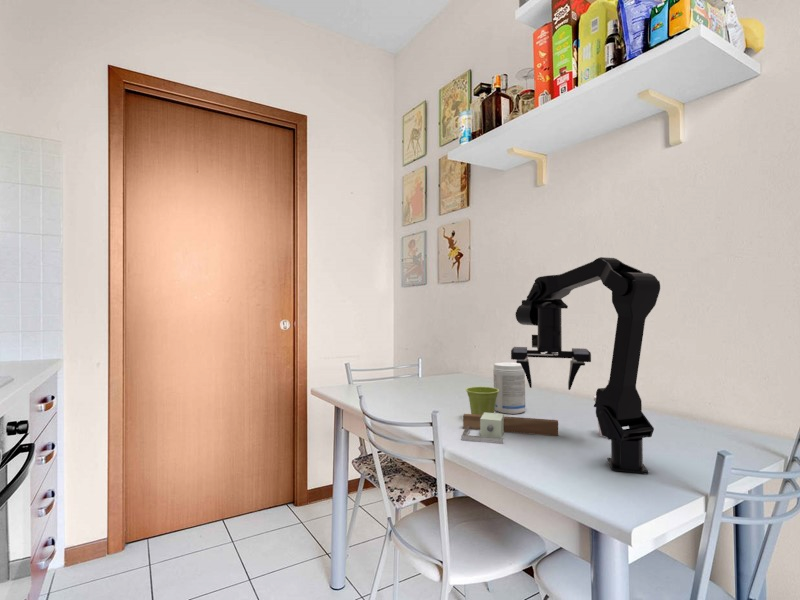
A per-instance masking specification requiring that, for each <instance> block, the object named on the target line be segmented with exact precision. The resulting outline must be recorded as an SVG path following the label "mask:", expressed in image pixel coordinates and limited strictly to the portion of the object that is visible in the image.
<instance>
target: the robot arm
mask: <svg viewBox="0 0 800 600" xmlns="http://www.w3.org/2000/svg"><path fill="white" fill-rule="evenodd" d="M598 281H601V283H602V285H603V286H605V287H606V288H607V289H609V290H610V291H611V303H612V304H613V307H614V309H615V312H616V314H617V321H616V328H615V335H614V336H615V337H614V342H613V349H612V358H611V365H610V372H609V379H608V380H609V383H607V385H606V386H605V387H600V388H599V387H598V388H597V390H596V391H595V395H596V402H595V401H594V405H593V408H595V415H596V416H595V417H596V419H597V418H598V419H597V423H598V422H599V425H600V429H601V433H602V436H601V437H603V436H605V437H604V438H607V439H608V440H610V449H611V450H610V452H611V454H610V457H606V460H607V463H608V465H609V466H610V469H611V471H615V472H616V471H617V472H625V473H636V474H646V475H647V474H649V469H647V467H646V465H644V463H643V462H644V461H643V460H644V459H643V458H644V453H643V451H644V450H643V449H644V448H643V446H644V445H643V443H644V441H643V439H644V438H645V439H646V438H652V436H653V433H654V430H655V428H654V426H653V424H651V422H650V421H649V420H648V418H647V416H645V414H644V412H643V411H642V408H643V407H642V398H641V396H640V394H639V392H638V390H637V379H638V374H639V373H638V372H639V366H640V365H639V364H640V359H641V351H642V346H643V339H644V338H643V336H644V332H645V331H644V330H645V323H646V319H647V317H648V316H649V314H650V313H651V311H653V309H654V308H655V306H656V304H657V301H658V298H659V295H660V291H661V284H660V280H659V279H658V278H657V277H656V276H655V275H654V274H652V273H649V272H643V271H642V270H640V269H637V268H636V267H634V266H630V265H629V264H625V263H624V262H622V260H621V261H620V260H619V259H618V258H615V257H607V256H606V257H602V256H601V257H598V258H595V259H594V260H592V261H591V262H588V263H584V264H583V265H580V266H577V267H576V268H573V269H570V270H568V271H565V272H563V273H560V274H552V275H550V274H549V275H543V276H538V277H536V278H535V280H534V283H533V284H532V286H531V288H530V291H529V292H528V294H527V296H526V299H522V300H521V304H520V305H519V306H518V307H517V308H516V311H515V314H514V315H515V320H516V321H517V323H519V324H520V325H522V326H537V334H531V348H534V349H528V347H527V346H524V347H523V346H513V347H512V348H511V350H510V360H516V361H515V363H520V364H521V366H522V368H523V370H524V372H525V378H526V380H527V383H528V386H529V388H530V389H532V387H533V386H532V382H533V381H532V376H531V368H530V359H529V358H543V359H545V358H546V359H549V358H550V359H570V361H569V371H568V372H569V373H568V374H569V375H568V383H567V386H568V387H567V389H568V391H570V390H571V389H572V386H573V383H574V382H575V381H574V380H575V378H576V375H577V373H578V372H579V370H580V368H581V366H586V363H592V353H591V351H589V349H587V348H577V347H575V348H574V347H573V348H572V347H571V350H563V349H562V340H563V339H562V337H563V336H562V334H563V333H562V332H563V331H562V309H568V307H569V306H568V305H567V303H566V302H564V301H563V298H565V297H567V296H568V295H570V294H571V292H572V291H573V290H575V289H578V288H580V287H581V288H582V287H584V286H586V285H589V284H592V283H595V282H598ZM535 348H536V349H537V350H536V349H535ZM625 427H626V428H625ZM627 427H628V428H627Z"/></svg>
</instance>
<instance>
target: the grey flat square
mask: <svg viewBox="0 0 800 600" xmlns="http://www.w3.org/2000/svg"><path fill="white" fill-rule="evenodd" d="M470 431H471V429H470V426H466V428H465V429H463V431H462V434H461V435H460V436H461V437H460V439H461V441H468V442H469V441H470V442H478V443H479V442H480V443H481V442H482V443H492V444H504V437H502V438H495V437H483V436H480V435H470V434H469V433H470Z"/></svg>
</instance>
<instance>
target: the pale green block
mask: <svg viewBox="0 0 800 600" xmlns="http://www.w3.org/2000/svg"><path fill="white" fill-rule="evenodd" d="M504 416H505V413H499V412H498V413H497V412H494V413H486V412H484V414H483V415H482V417H481V418H480V430H479V434H480V435H479V436H483V437H495V438H503V435H504V433H505V432H504Z"/></svg>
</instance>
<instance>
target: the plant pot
mask: <svg viewBox="0 0 800 600" xmlns="http://www.w3.org/2000/svg"><path fill="white" fill-rule="evenodd" d="M465 392H467V396H468V400H469V406H470V414H476V415H483V414H484V412H486V413H495V412H496V410H495V403H496V397H497V394H498V392H499V390H498V389H496V388H494V387H490V386H470V387H466V388H465Z"/></svg>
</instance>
